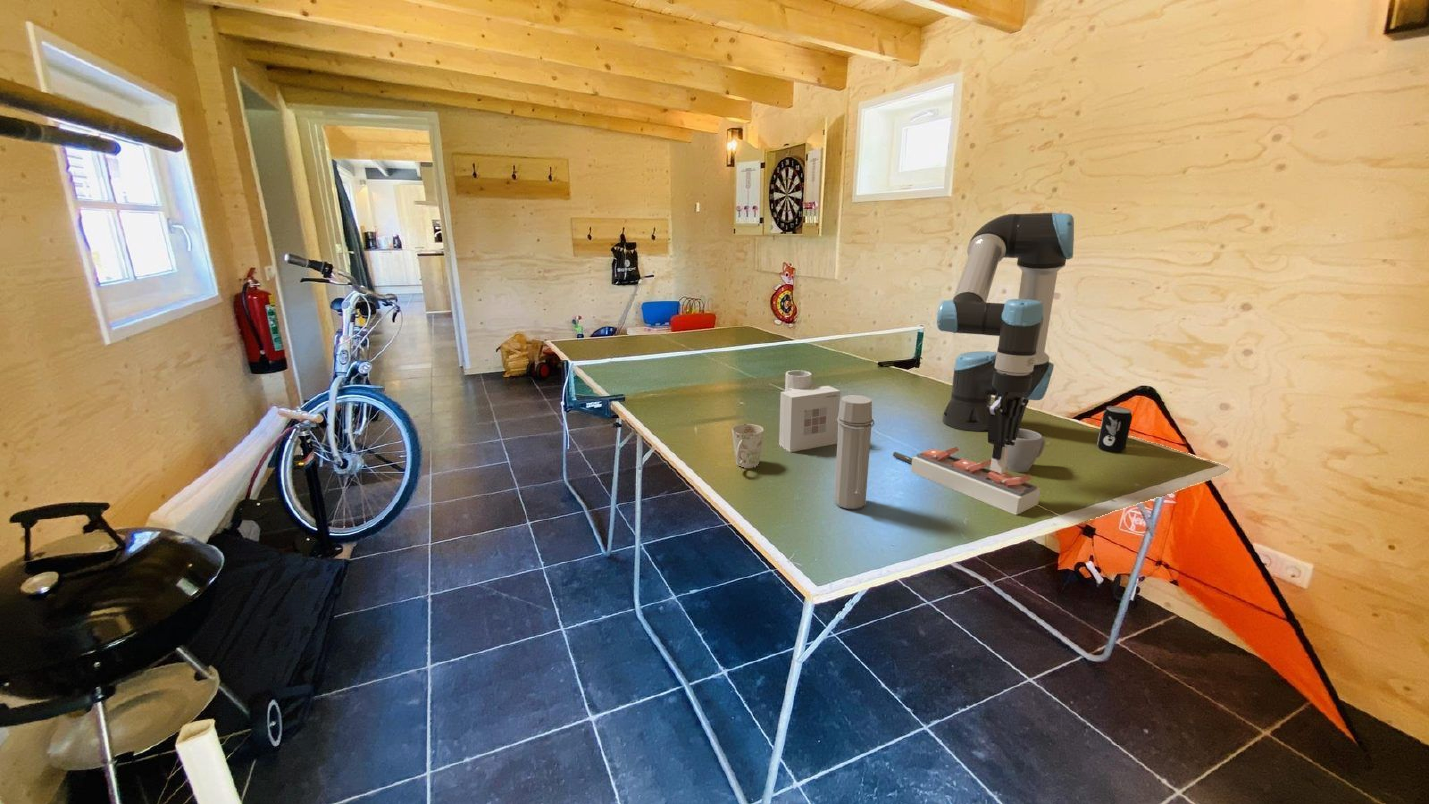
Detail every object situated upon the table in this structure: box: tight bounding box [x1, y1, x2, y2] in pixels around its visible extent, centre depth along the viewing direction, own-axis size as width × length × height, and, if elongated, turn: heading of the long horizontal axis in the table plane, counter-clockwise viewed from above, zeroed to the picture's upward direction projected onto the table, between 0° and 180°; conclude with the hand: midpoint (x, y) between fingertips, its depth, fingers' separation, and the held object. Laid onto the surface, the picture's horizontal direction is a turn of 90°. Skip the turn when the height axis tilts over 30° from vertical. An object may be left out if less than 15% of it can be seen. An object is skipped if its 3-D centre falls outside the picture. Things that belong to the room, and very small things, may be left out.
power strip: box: [892, 451, 1041, 516], centre depth 139 cm, size 37×9×5 cm, turn 33°
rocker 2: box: [987, 471, 1032, 487], centre depth 127 cm, size 8×5×2 cm, turn 33°
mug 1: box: [731, 423, 765, 469], centre depth 147 cm, size 8×13×10 cm, turn 161°
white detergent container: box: [778, 369, 841, 453], centre depth 167 cm, size 16×19×20 cm
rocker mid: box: [953, 458, 992, 473], centre depth 135 cm, size 8×5×2 cm, turn 33°
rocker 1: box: [921, 446, 960, 460], centre depth 142 cm, size 8×5×2 cm, turn 33°
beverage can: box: [1096, 405, 1133, 454], centre depth 157 cm, size 7×7×12 cm
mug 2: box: [1005, 427, 1046, 473], centre depth 146 cm, size 12×9×10 cm
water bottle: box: [833, 394, 875, 510], centre depth 124 cm, size 9×8×25 cm
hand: (997, 470), depth 129 cm, fingers closed
